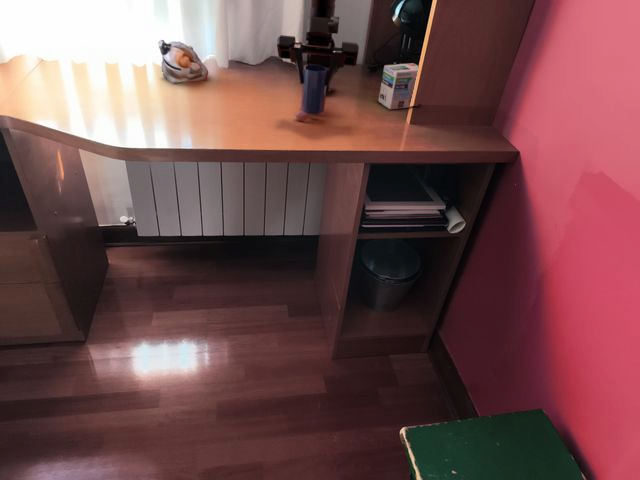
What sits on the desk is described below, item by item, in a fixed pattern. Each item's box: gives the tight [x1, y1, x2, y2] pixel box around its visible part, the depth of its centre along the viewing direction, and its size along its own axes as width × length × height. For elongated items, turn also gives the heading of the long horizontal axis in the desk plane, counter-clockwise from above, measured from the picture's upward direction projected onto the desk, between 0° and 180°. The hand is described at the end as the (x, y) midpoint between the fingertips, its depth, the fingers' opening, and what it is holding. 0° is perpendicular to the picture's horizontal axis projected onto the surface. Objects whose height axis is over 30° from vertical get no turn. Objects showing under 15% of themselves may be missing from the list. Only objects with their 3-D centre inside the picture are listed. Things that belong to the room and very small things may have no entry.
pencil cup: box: [300, 64, 328, 115], centre depth 107 cm, size 6×6×10 cm
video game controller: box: [295, 109, 315, 122], centre depth 121 cm, size 10×5×7 cm, turn 168°
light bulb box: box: [377, 62, 419, 110], centre depth 132 cm, size 11×7×11 cm, turn 117°
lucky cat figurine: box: [157, 39, 209, 84], centre depth 133 cm, size 15×12×14 cm
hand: (313, 84), depth 105 cm, fingers closed on pencil cup, 5 cm apart
